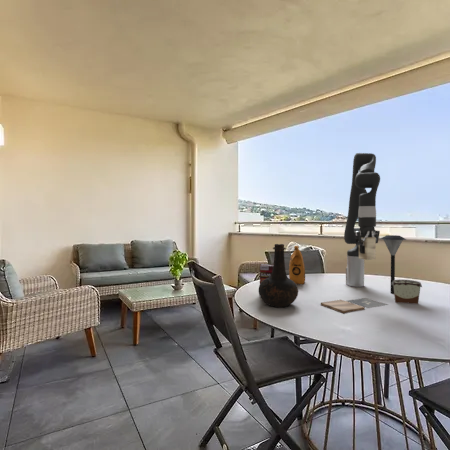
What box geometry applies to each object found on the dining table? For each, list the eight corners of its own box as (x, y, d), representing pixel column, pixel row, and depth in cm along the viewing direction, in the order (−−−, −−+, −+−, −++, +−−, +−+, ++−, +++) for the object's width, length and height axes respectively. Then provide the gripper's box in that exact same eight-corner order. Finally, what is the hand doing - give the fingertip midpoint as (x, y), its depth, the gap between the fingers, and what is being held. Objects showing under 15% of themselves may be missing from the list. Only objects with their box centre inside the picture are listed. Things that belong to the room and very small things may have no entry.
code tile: (345, 301, 153) (345, 300, 153) (365, 298, 158) (365, 297, 158) (367, 308, 141) (367, 308, 141) (388, 304, 147) (388, 304, 147)
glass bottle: (252, 301, 154) (251, 243, 153) (283, 297, 161) (283, 241, 160) (271, 312, 137) (271, 246, 136) (306, 307, 144) (306, 244, 143)
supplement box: (259, 296, 163) (259, 265, 162) (260, 294, 168) (260, 264, 167) (276, 297, 161) (276, 266, 160) (277, 295, 166) (277, 264, 165)
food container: (418, 301, 153) (418, 280, 152) (421, 304, 147) (422, 282, 146) (389, 299, 157) (389, 278, 156) (391, 302, 151) (391, 281, 150)
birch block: (358, 258, 150) (358, 237, 150) (366, 257, 152) (366, 236, 152) (367, 259, 146) (367, 237, 145) (375, 259, 148) (375, 237, 147)
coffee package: (287, 283, 192) (287, 247, 192) (289, 279, 204) (289, 245, 204) (304, 284, 190) (304, 247, 189) (305, 280, 202) (305, 245, 201)
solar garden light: (379, 294, 165) (380, 236, 164) (379, 289, 176) (379, 234, 175) (406, 297, 160) (407, 236, 159) (405, 291, 171) (405, 235, 170)
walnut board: (320, 304, 148) (320, 302, 148) (340, 301, 153) (340, 299, 153) (343, 313, 135) (343, 310, 135) (364, 309, 140) (364, 307, 140)
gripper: (371, 216, 155) (371, 251, 155) (349, 216, 149) (349, 253, 149) (385, 216, 148) (384, 253, 148) (362, 216, 142) (361, 255, 143)
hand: (366, 252), depth 149 cm, fingers closed on birch block, 5 cm apart
